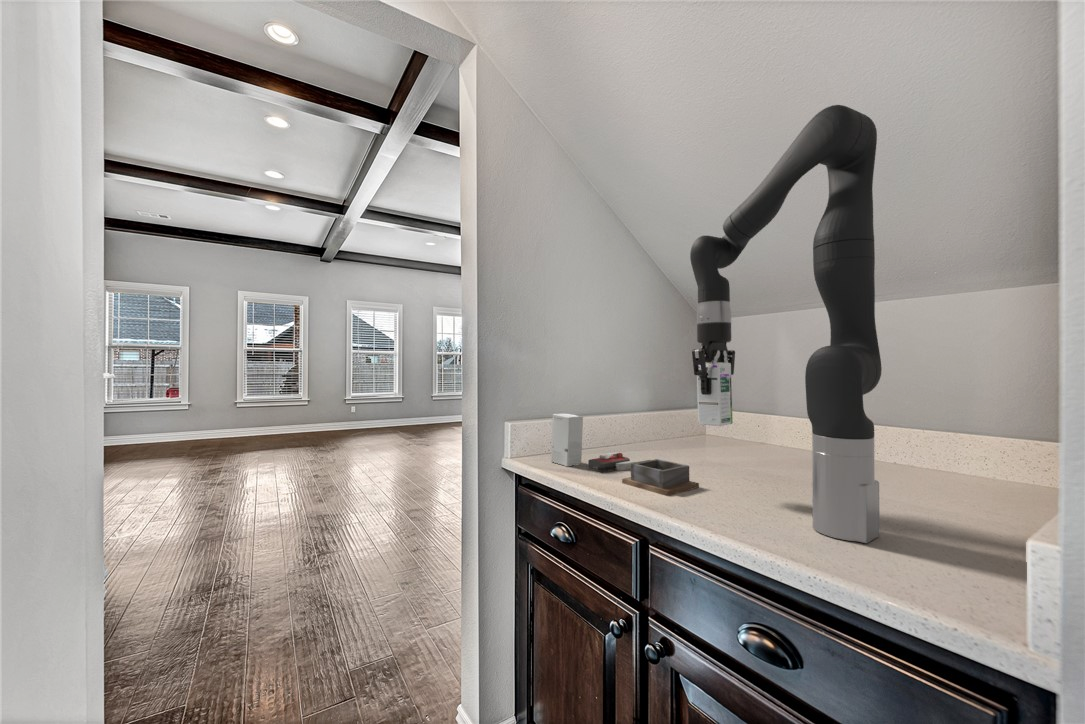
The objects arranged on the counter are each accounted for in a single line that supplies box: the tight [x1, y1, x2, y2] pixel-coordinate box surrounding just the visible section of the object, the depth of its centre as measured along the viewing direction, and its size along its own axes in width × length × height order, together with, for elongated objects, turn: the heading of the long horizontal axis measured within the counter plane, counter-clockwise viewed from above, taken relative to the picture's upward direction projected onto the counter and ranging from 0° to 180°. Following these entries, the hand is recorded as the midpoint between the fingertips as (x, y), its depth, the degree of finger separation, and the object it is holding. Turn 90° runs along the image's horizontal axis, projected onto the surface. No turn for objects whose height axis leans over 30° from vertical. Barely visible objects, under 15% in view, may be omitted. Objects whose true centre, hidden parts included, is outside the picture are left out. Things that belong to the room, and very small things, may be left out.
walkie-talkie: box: [587, 451, 650, 473], centre depth 132 cm, size 9×4×20 cm
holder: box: [621, 458, 700, 496], centre depth 112 cm, size 14×12×5 cm
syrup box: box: [696, 362, 733, 427], centre depth 105 cm, size 6×6×14 cm
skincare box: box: [550, 413, 584, 467], centre depth 137 cm, size 8×6×15 cm
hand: (714, 393), depth 105 cm, fingers closed on syrup box, 6 cm apart
